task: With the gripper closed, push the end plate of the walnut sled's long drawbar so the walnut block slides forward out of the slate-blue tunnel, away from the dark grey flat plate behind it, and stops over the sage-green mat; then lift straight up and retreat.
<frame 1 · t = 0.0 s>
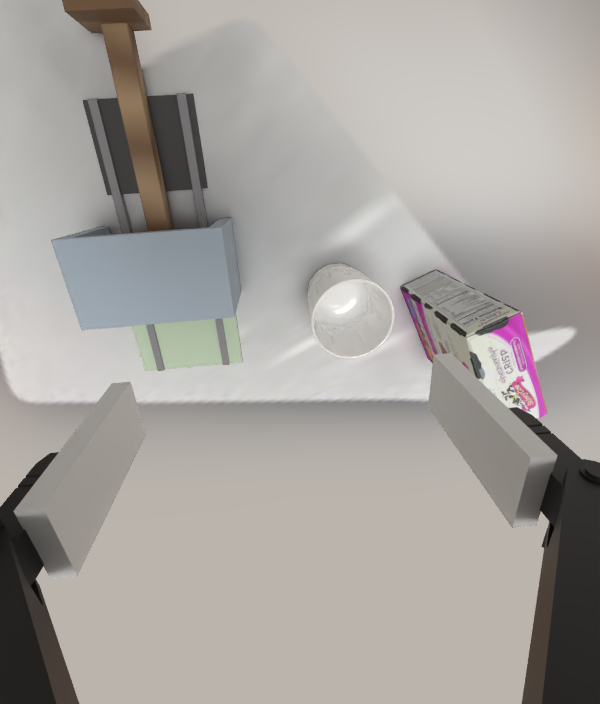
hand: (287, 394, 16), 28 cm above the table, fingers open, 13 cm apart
sled: (143, 171, 34), point 3 cm above the table, slide at 0.0 cm
mat: (188, 337, 44), on the table
tunnel: (172, 260, 40), on the table
candy bar box: (431, 314, 46), on the table
dark grey flat plate: (148, 146, 36), on the table
white cup: (335, 291, 44), on the table
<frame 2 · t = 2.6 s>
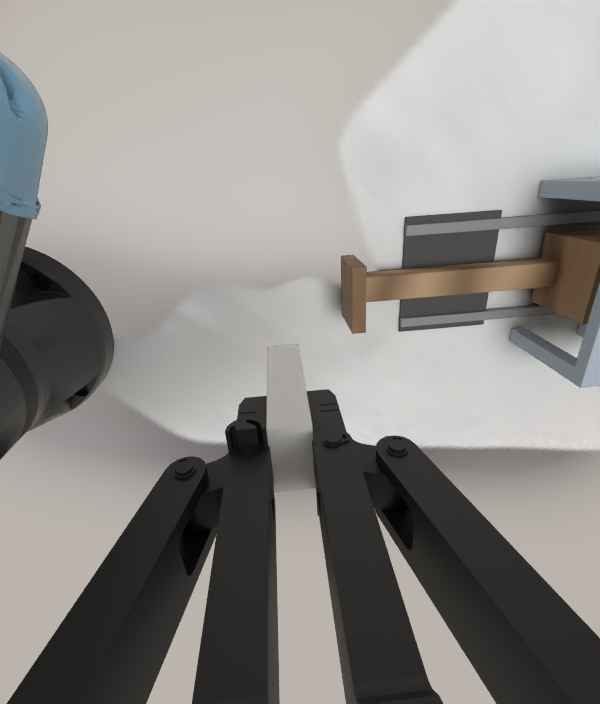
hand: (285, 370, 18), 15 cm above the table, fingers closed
sled: (493, 282, 29), point 3 cm above the table, slide at 0.0 cm
tunnel: (567, 264, 33), on the table
dark grey flat plate: (446, 274, 32), on the table
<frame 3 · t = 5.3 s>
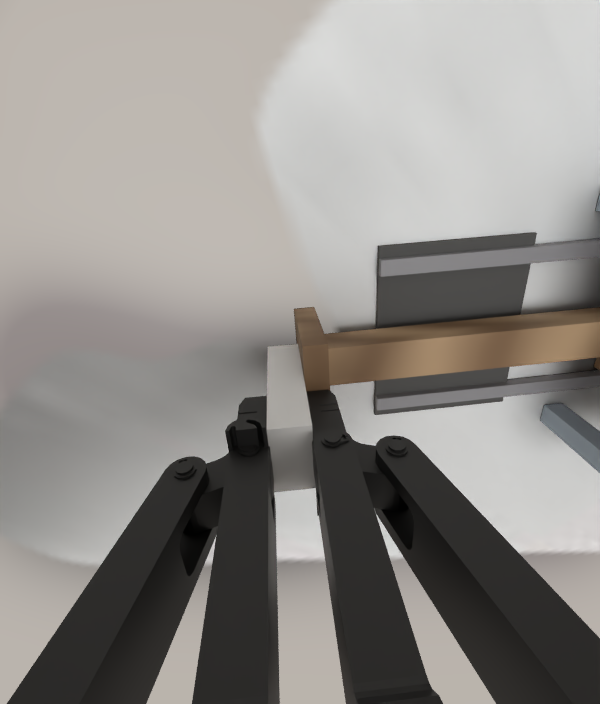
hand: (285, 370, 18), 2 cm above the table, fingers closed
sled: (546, 352, 18), point 4 cm above the table, slide at 1.1 cm, touching gripper
dark grey flat plate: (446, 331, 21), on the table
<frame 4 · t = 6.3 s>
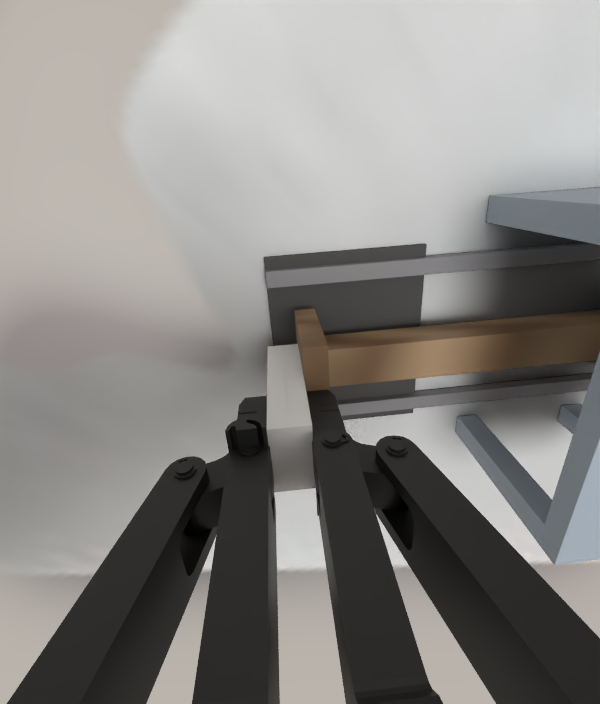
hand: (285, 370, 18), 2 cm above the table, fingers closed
sled: (547, 354, 18), point 3 cm above the table, slide at 6.7 cm, touching gripper
tunnel: (539, 324, 21), on the table
dark grey flat plate: (346, 342, 20), on the table
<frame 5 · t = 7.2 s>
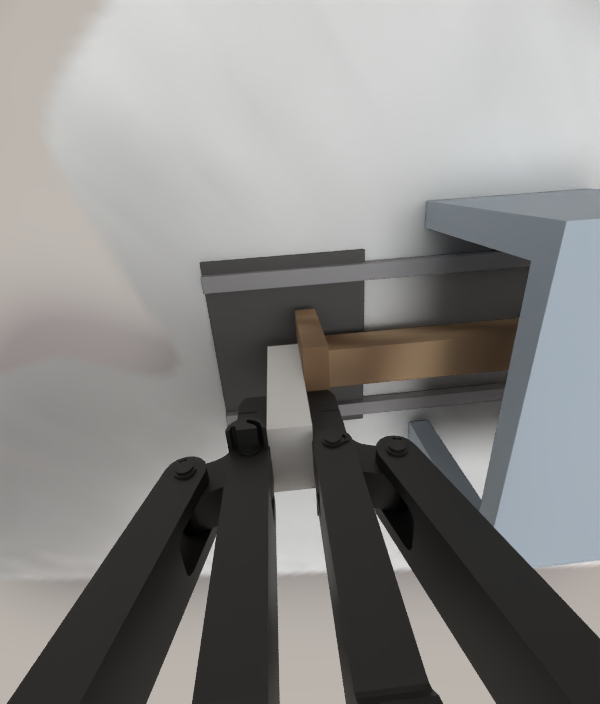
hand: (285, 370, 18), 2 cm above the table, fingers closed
sled: (547, 355, 18), point 4 cm above the table, slide at 9.8 cm, touching gripper
tunnel: (485, 330, 21), on the table
dark grey flat plate: (290, 348, 20), on the table
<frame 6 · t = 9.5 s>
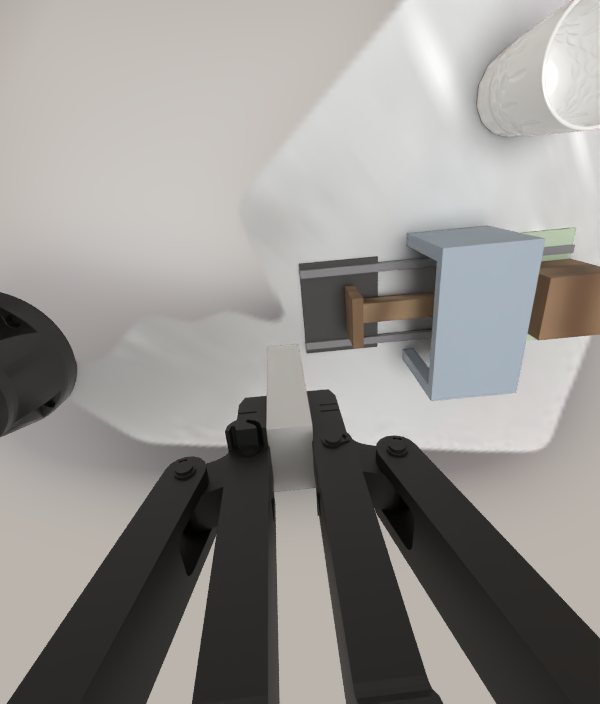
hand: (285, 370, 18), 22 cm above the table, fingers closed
sled: (467, 306, 36), point 3 cm above the table, slide at 9.9 cm
mat: (526, 289, 40), on the table
tunnel: (441, 297, 40), on the table
dark grey flat plate: (340, 307, 40), on the table
white cup: (513, 93, 32), on the table
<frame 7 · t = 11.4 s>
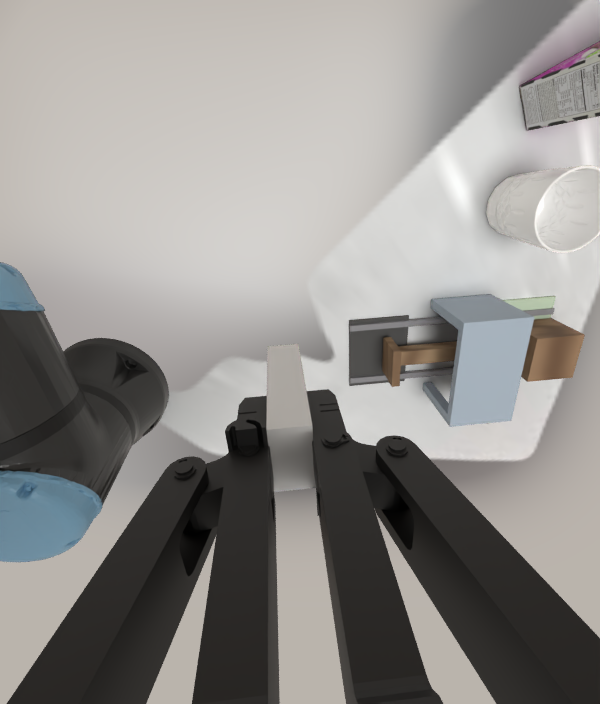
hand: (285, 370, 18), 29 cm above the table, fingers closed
sled: (475, 354, 49), point 4 cm above the table, slide at 9.9 cm
mat: (518, 339, 52), on the table
tunnel: (454, 344, 52), on the table
candy bar box: (568, 82, 40), on the table
dark grey flat plate: (377, 351, 51), on the table
white cup: (512, 204, 44), on the table
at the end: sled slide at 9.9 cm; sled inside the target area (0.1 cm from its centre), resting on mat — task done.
